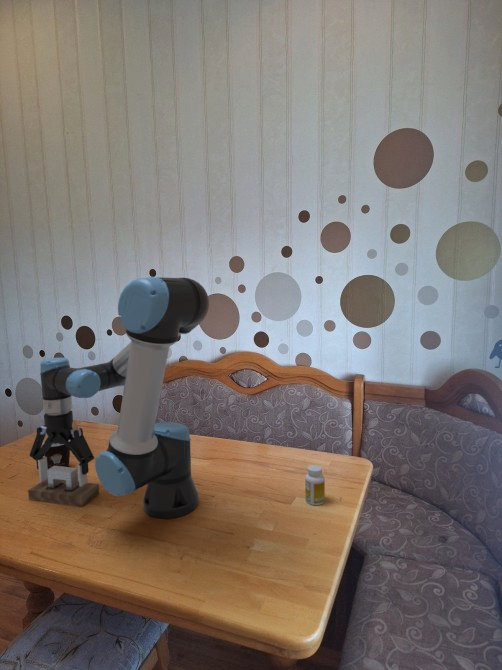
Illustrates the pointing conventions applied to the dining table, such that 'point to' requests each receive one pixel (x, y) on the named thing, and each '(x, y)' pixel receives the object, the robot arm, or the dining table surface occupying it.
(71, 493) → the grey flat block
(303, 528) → the dining table surface
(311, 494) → the supplement bottle
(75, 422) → the egg
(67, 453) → the coffee mug
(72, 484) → the clip
